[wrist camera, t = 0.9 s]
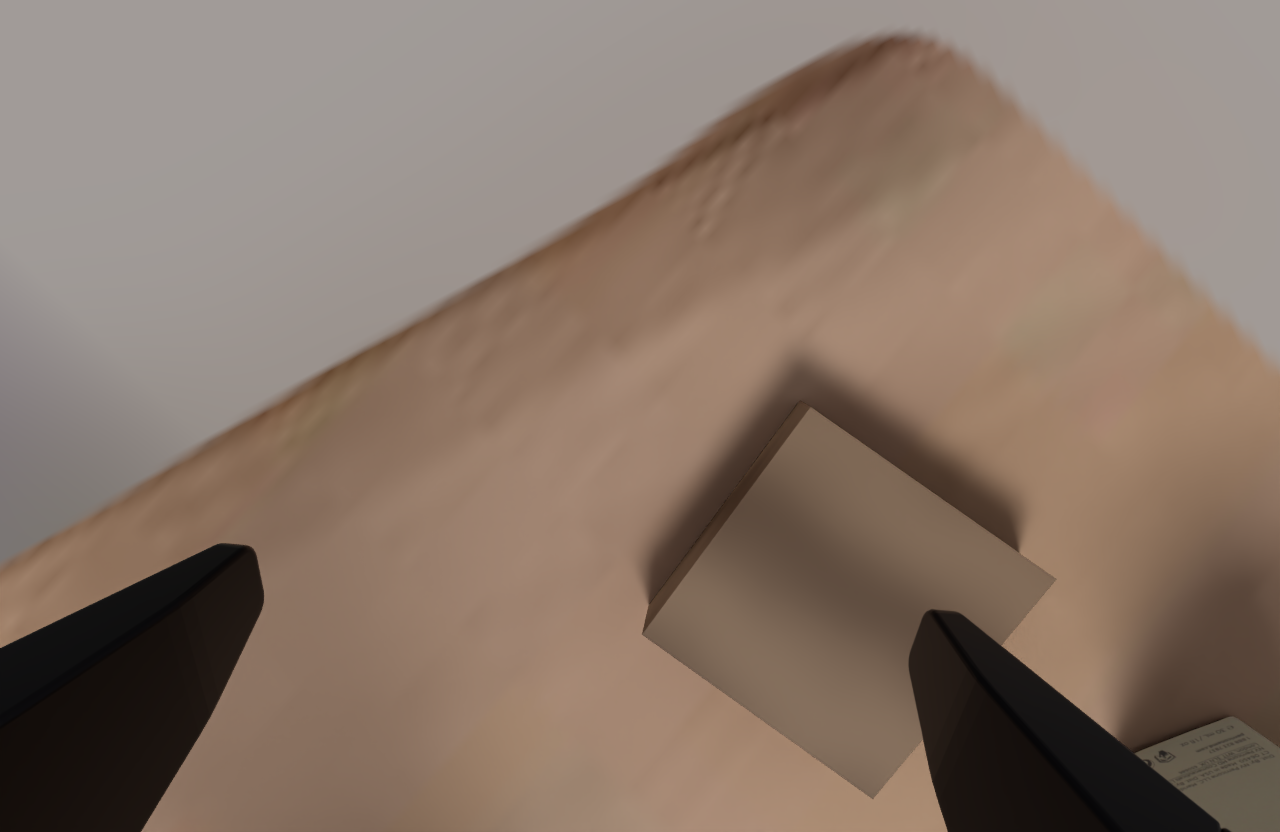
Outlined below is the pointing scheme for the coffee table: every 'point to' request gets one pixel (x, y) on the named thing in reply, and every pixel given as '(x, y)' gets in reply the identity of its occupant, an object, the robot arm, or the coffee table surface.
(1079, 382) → the coffee table surface
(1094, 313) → the coffee table surface
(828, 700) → the walnut plinth
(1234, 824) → the skincare box
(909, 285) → the coffee table surface
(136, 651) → the robot arm
